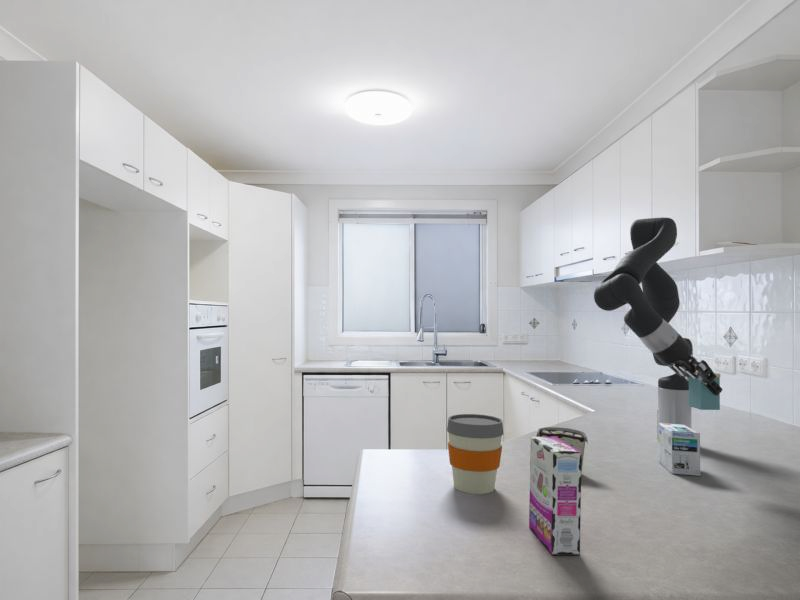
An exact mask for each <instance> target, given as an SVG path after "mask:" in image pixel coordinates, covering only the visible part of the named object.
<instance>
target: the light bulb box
mask: <svg viewBox="0 0 800 600" xmlns="http://www.w3.org/2000/svg"><path fill="white" fill-rule="evenodd" d="M658 444H659V445H658V446H659V447H658V450H659V451H658V452H659V453H658V458H659V460H658V463H660V464H661V466H663V467H664V468H666V471H667V470H668V472H670V473H671V475H672V474H673V475H686V476H696V477H697V476H698V477H700V476H701V433H700V432H698V431H696V430H695V429H691V428H689V427H687V426H685V425H681V424H667V423H659V442H658Z"/></svg>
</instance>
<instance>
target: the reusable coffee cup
mask: <svg viewBox="0 0 800 600" xmlns="http://www.w3.org/2000/svg"><path fill="white" fill-rule="evenodd" d="M503 423H504V422H503V420H502V418H499V417H496V416H492V415H486V414H479V413H478V414H477V413H475V414H474V413H461V414H455V415H454V414H453V415H450V416H448V419H447V428H446V431H447V432H448V439H449V441H448V442H447V449H448V457H449V464H450V465H451V470H452V478H453V487H454V489H456V490H457V491H459V492H462V493H466V494H471V495H485V494H489V493H492V492H494V491H495V489H496V488H495V487H496V481H497V474H498V469H499V468H500V466H501V464H500V463H501V459H502V458H501V457H502V451H503V446H502V437H503V435H504V426H503V425H504V424H503Z"/></svg>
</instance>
